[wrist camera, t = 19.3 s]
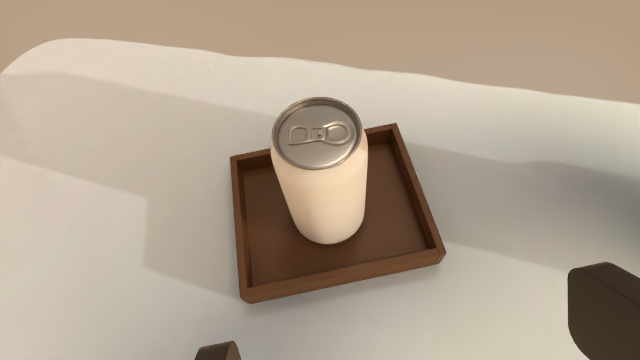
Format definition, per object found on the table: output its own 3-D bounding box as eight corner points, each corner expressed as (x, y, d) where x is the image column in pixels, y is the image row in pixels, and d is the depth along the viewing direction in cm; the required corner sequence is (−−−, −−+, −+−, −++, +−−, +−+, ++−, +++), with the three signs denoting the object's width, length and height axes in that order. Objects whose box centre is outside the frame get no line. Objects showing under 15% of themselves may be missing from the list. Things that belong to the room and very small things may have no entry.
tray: (393, 139, 36) (396, 122, 34) (439, 263, 30) (446, 253, 27) (238, 171, 36) (229, 156, 33) (249, 304, 29) (239, 297, 27)
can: (366, 245, 30) (372, 173, 20) (291, 246, 31) (259, 177, 20) (362, 180, 34) (366, 89, 23) (294, 182, 34) (269, 94, 24)
